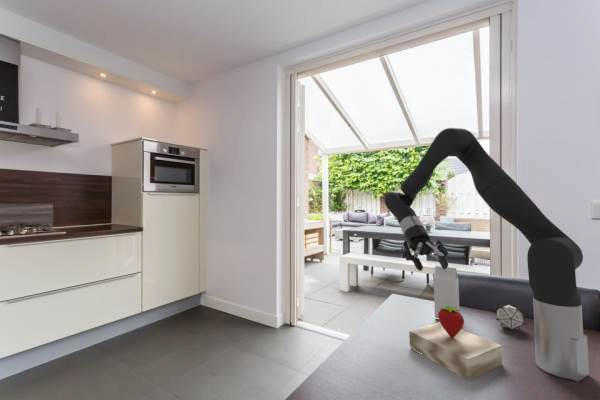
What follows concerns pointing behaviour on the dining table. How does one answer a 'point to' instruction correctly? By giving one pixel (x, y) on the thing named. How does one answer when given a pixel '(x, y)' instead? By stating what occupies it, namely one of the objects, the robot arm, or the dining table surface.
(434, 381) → the dining table surface
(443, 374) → the dining table surface
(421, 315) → the dining table surface
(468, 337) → the birch stand
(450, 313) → the strawberry
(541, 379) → the dining table surface
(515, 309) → the game die
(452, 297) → the grey tall block
